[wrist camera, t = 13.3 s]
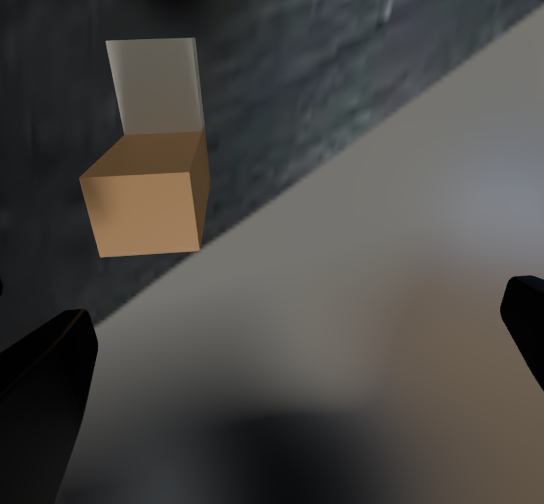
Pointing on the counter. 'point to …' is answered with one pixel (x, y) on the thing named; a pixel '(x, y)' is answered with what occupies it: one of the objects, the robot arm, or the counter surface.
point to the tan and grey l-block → (152, 153)
